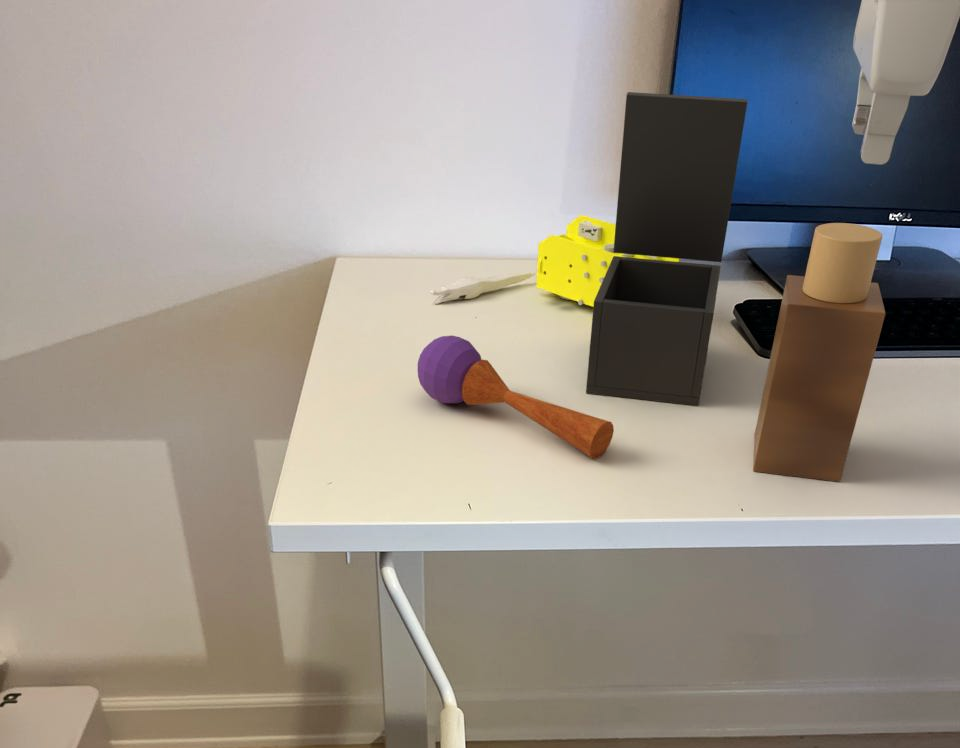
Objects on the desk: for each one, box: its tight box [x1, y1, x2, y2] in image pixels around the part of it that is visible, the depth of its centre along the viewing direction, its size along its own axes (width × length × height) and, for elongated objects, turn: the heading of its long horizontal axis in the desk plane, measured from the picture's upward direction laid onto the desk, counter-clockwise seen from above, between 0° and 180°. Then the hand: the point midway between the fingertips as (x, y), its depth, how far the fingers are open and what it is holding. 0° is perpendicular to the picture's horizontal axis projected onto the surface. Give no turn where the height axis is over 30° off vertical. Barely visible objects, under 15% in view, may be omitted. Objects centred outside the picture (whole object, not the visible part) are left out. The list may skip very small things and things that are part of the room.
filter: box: [802, 222, 883, 303], centre depth 75 cm, size 5×5×4 cm
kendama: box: [417, 334, 614, 460], centre depth 87 cm, size 6×6×20 cm
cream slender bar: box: [429, 272, 536, 305], centre depth 115 cm, size 15×3×2 cm, turn 125°
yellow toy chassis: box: [535, 214, 681, 307], centre depth 110 cm, size 16×6×8 cm, turn 44°
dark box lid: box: [613, 91, 749, 263], centre depth 94 cm, size 14×11×5 cm
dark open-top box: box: [585, 256, 722, 407], centre depth 96 cm, size 14×11×9 cm
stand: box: [752, 274, 886, 483], centre depth 80 cm, size 7×7×14 cm
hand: (868, 146), depth 70 cm, fingers open, 8 cm apart
